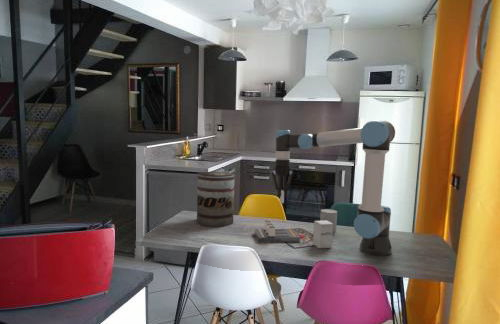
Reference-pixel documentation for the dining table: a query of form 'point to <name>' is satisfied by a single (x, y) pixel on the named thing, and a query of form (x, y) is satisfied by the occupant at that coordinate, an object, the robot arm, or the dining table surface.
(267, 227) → the breaker mid
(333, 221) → the grey block
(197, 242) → the dining table surface
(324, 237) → the supplement box
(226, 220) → the barrel
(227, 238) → the dining table surface
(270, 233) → the breaker
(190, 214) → the dining table surface
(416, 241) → the dining table surface
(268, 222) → the breaker
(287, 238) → the panel
